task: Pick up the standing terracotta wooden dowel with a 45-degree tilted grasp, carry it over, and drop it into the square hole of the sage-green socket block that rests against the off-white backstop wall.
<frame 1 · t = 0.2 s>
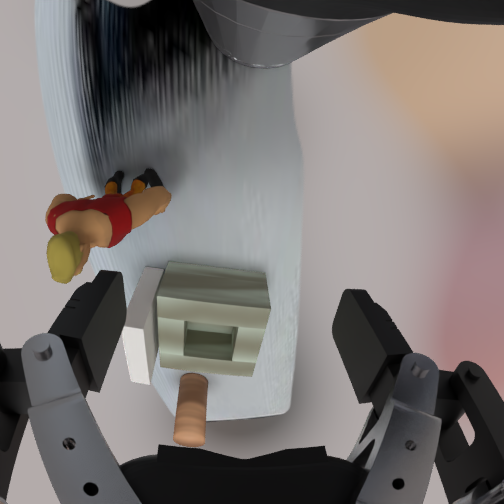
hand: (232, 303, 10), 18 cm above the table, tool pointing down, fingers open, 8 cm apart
backstop wall: (155, 297, 32), on the table
action figure: (136, 181, 26), on the table
socket block: (212, 303, 33), on the table
dowel: (194, 381, 40), on the table
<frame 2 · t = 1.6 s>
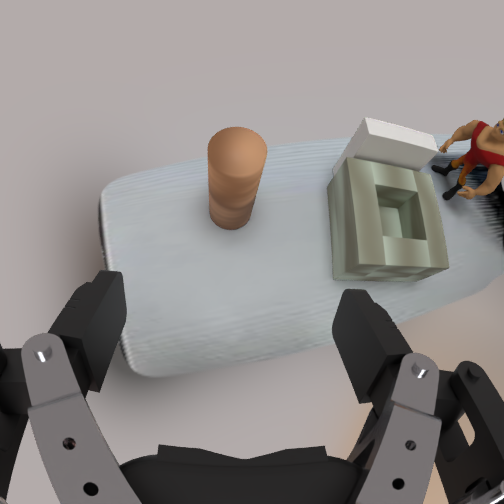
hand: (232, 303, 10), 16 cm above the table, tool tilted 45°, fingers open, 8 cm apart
backstop wall: (365, 181, 32), on the table
action figure: (442, 183, 34), on the table
socket block: (372, 235, 30), on the table
dowel: (230, 210, 29), on the table
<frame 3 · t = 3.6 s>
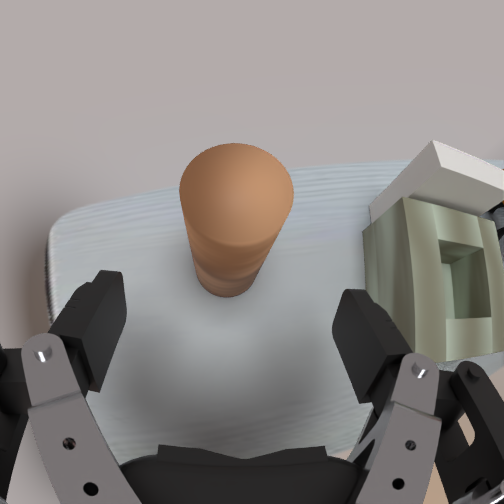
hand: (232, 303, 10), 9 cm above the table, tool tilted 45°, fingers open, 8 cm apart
backstop wall: (409, 222, 23), on the table
action figure: (488, 222, 25), on the table
socket block: (416, 298, 21), on the table
dowel: (226, 267, 20), on the table
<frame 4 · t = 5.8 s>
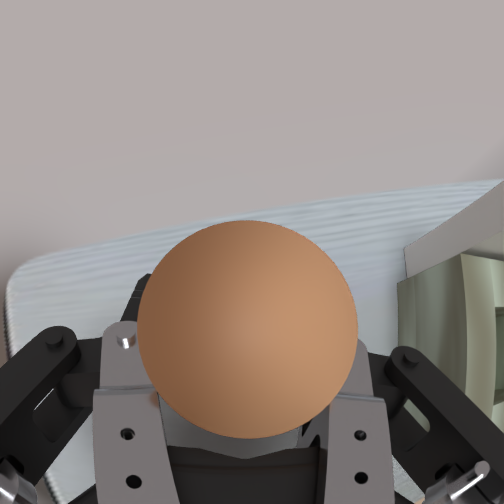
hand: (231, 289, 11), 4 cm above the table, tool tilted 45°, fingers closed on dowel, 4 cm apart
backstop wall: (447, 266, 18), on the table
socket block: (451, 359, 16), on the table
dowel: (224, 344, 14), on the table, touching gripper
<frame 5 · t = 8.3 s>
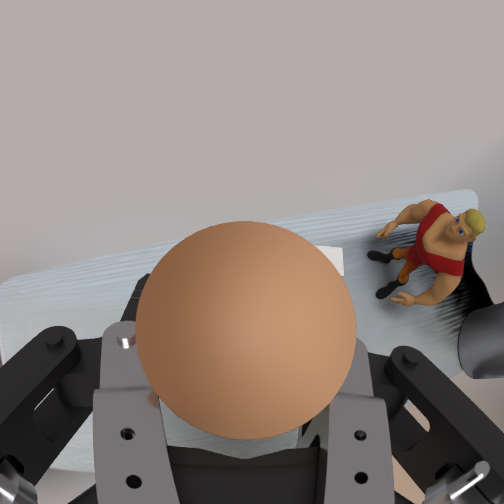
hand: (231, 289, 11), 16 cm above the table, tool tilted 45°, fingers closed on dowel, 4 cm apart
backstop wall: (261, 288, 28), on the table
action figure: (380, 274, 30), on the table
dowel: (224, 344, 14), point 12 cm above the table, touching gripper
when the fingers open (9 cm above the table, at t = 10.9 s): dowel drops 3 cm, resting on socket block.
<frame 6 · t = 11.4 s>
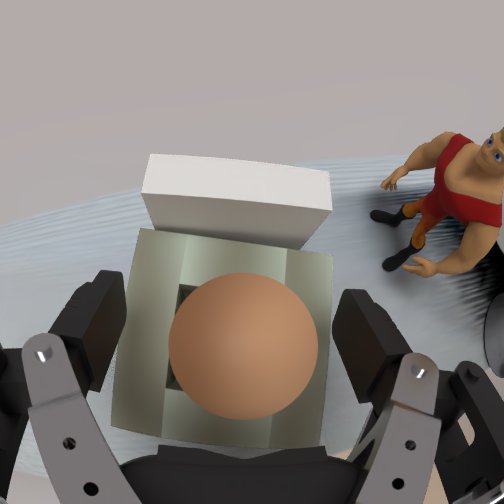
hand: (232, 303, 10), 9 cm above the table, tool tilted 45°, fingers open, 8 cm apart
backstop wall: (226, 250, 21), on the table
action figure: (387, 240, 23), on the table
socket block: (220, 345, 19), on the table, touching dowel
dowel: (221, 346, 17), point 2 cm above the table, touching socket block
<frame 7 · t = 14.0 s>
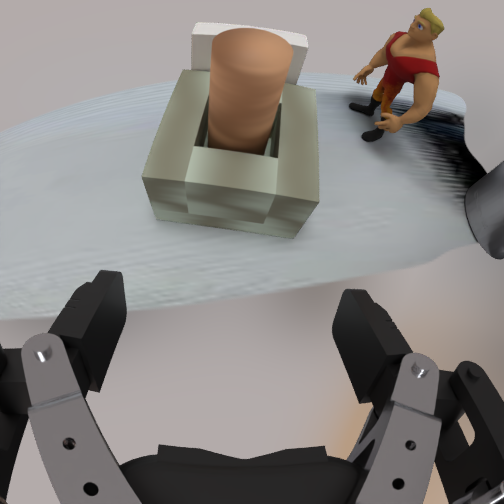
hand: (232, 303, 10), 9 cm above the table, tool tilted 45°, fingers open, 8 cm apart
backstop wall: (237, 114, 25), on the table
action figure: (365, 124, 27), on the table
socket block: (233, 172, 23), on the table, touching dowel
dowel: (234, 159, 21), point 2 cm above the table, touching socket block
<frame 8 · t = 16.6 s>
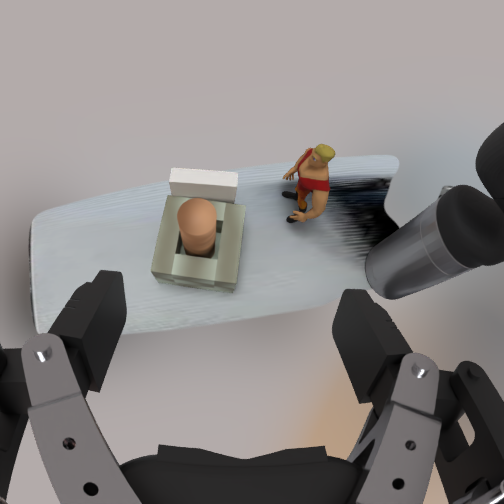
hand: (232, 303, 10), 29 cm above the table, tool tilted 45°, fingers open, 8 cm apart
backstop wall: (204, 210, 43), on the table
action figure: (292, 207, 45), on the table
socket block: (200, 253, 41), on the table, touching dowel
dowel: (199, 248, 39), point 2 cm above the table, touching socket block
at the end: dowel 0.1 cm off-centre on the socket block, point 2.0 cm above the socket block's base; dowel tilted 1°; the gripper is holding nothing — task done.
